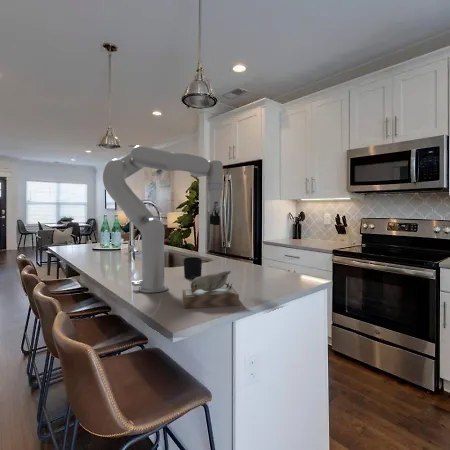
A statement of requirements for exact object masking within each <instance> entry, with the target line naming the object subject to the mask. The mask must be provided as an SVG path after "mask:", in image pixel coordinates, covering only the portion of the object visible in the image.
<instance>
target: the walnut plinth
mask: <svg viewBox="0 0 450 450" xmlns="http://www.w3.org/2000/svg"><path fill="white" fill-rule="evenodd" d="M229 289H230V288H229V287H221V288H219V289H216V290H212V291H204V290H202V289H198V290H196V291H195V292H193V293H192V292H191V288H190V289H189V288H187V289H182V304H183V309H196V308H197V309H198V308H216V307H217V308H218V307H231V306H232V307H234V306H239V305H240V294H239V293H238V292H237V290H236V289H235V288H234V287H231V289H230V290H229Z"/></svg>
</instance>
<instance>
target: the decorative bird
mask: <svg viewBox="0 0 450 450" xmlns="http://www.w3.org/2000/svg"><path fill="white" fill-rule="evenodd" d="M231 272H232V271H231V269H230V270H224V271H221V272H218V273H211V274H207V275H201V276H199V277H196V278H195V279H192V281H191V283H190V289H191V292H192V293H193V292H195V291H196V290H198V289H202V290H204V291H212V290H216V289H219V288H224V286H225V285H226V287H225V288H230V289H231V287H232V284H233V283H231V284H230V282H228V283H227V279H228V275H229V274H231ZM230 289H229V290H230Z"/></svg>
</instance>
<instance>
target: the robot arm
mask: <svg viewBox="0 0 450 450" xmlns="http://www.w3.org/2000/svg"><path fill="white" fill-rule="evenodd" d="M143 168H150V169H154V170H158V171H162V172H163V171H164V172H173V171H182V172H188V173H189V174H190V175H191V176H192V177H195V178H201V177H206V181H205V182H206V192H208V193H207V194H208V196H207V212H208V213H209V224H210V225H212V226H220V225H221V214H220V212H221V206H222V205H221V203H222V202H221V192H223V187H224V186H223V184H224V182H223V181H224V180H223V179H224V177H223V176H224V175H223V174H224V173H223V162H222V161H221V160H217V159H216V160H212V159H211V160H208V159H207V158H205V157H203V156H199V155H196V154H195V155H194V154H190V153H183V152H176V151H175V152H174V151H167V150H162V149H157V148H153V147H148V146H145V145H136V146H134V147H133V148H132V149H131V150H130V152H129V153H128V154H127V155H125V156H123V157H121V158H120V159H119V158H113V159H109V161H107V163H106V165H105V166H104V169H103V173H102V182H103V186H104V188H105V191H106V192H107V194H108V195H109V196H110V197H111V199H112V200H113V202H115V204H116V205H117V206H118V208H120V209H121V210H122V211H123V212H124V215H125V216H126V218H127V219H128V220H129V221H130V222H131V223H132V224H133V225H134V226H135V227H136V229H137V230H138V231H139V232H140V233H141V271H142V272H141V279H140V280H131V286H134V287H138V291H139V292H141V293H149V294H150V293H151V294H155V293H161V292H165V291H167V290H168V289H169V285H167V284H165V235H166V233H165V225H164V223H163V221H162V220H160V219H159V218H157V217H155V215H154V214H153V213H152V212H151V211H150V210H149V209H148V207H147V205H146V204H145V202H143V201H142V200H141V199H140V197H139V196H137V194H136V193H135V192H134V191H133V190H132V188H130V186H129V185H128V184H127V182H126V179H128V178H129V177H131V176H133V175H134V174H136V173H137V172H139V171H140V170H142V169H143Z"/></svg>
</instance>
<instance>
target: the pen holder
mask: <svg viewBox="0 0 450 450" xmlns="http://www.w3.org/2000/svg"><path fill="white" fill-rule="evenodd" d="M202 262H203V261H202V258H201V257H197V256H196V257H194V256H191V257H185V258H184V259H183V269H184V270H183V273H184V274H183V275H184V278H185V279H187V280H193V279H195V278H196V277H199V276H202V271H203V270H202V269H203V268H202V265H203V264H202Z"/></svg>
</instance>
